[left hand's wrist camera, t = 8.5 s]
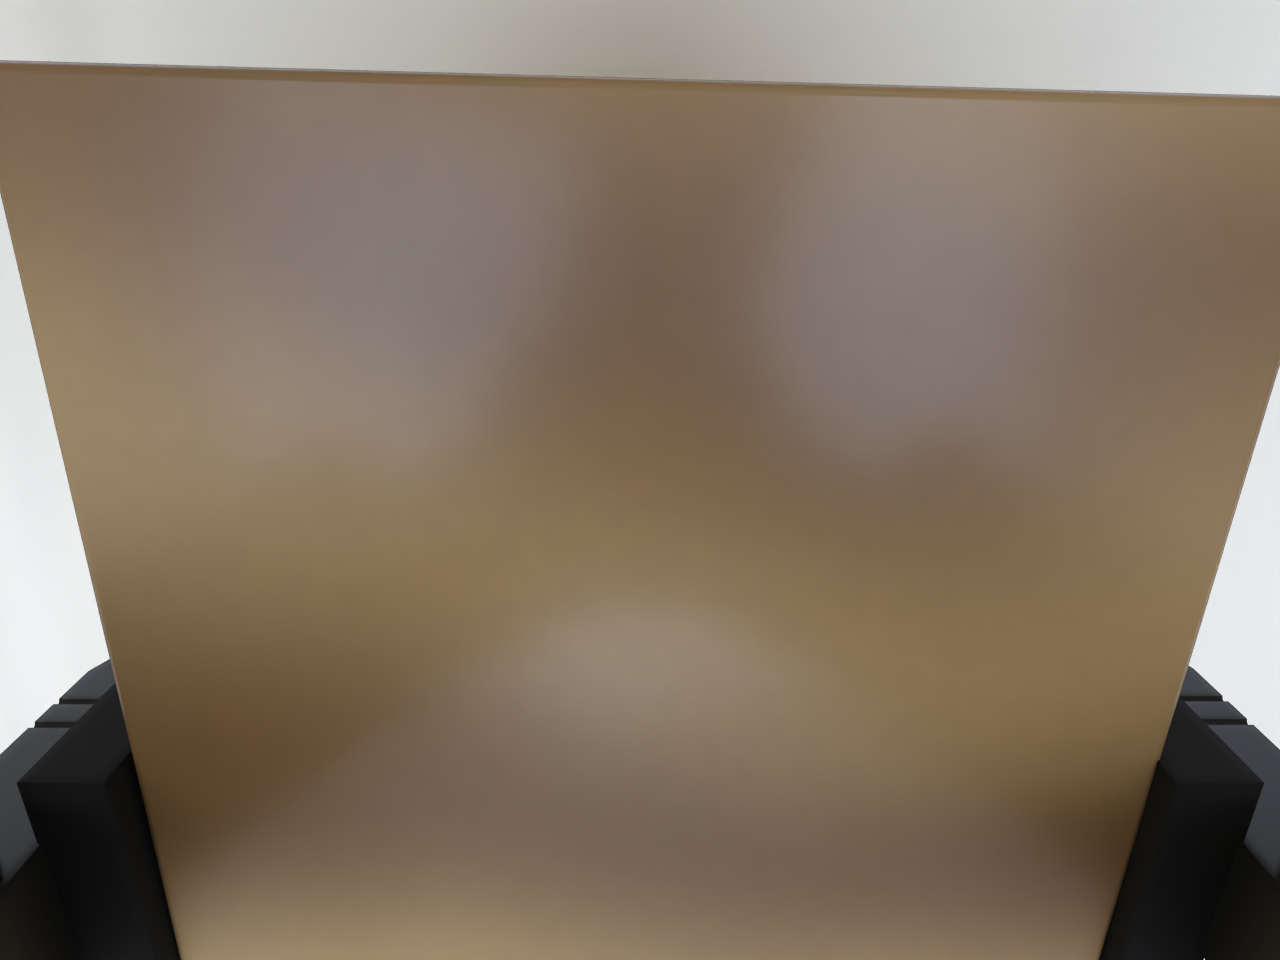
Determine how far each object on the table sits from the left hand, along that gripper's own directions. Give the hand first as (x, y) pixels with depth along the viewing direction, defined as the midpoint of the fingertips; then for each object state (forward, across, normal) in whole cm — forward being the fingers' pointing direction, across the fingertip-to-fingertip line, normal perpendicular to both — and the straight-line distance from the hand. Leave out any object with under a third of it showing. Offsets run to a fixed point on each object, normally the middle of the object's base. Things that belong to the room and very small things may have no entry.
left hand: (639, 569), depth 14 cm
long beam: (0, -1, -33) cm, 33 cm away
